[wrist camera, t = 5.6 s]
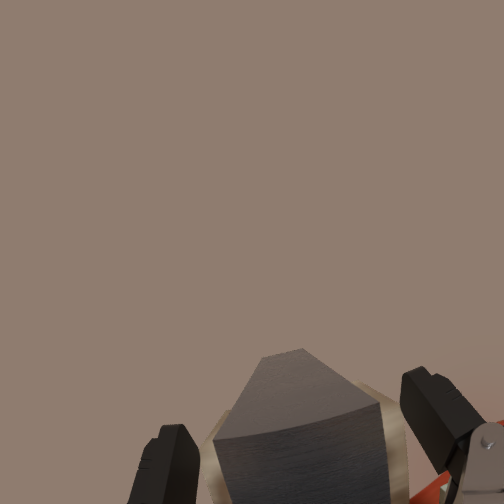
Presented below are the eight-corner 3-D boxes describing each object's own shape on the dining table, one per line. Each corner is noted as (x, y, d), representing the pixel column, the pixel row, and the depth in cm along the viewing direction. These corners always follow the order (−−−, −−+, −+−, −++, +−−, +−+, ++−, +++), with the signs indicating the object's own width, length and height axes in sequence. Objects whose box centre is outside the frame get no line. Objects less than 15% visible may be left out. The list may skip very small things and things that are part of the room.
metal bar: (249, 547, 5) (212, 439, 6) (270, 395, 26) (262, 357, 27) (391, 515, 4) (379, 401, 6) (311, 386, 26) (302, 348, 27)
